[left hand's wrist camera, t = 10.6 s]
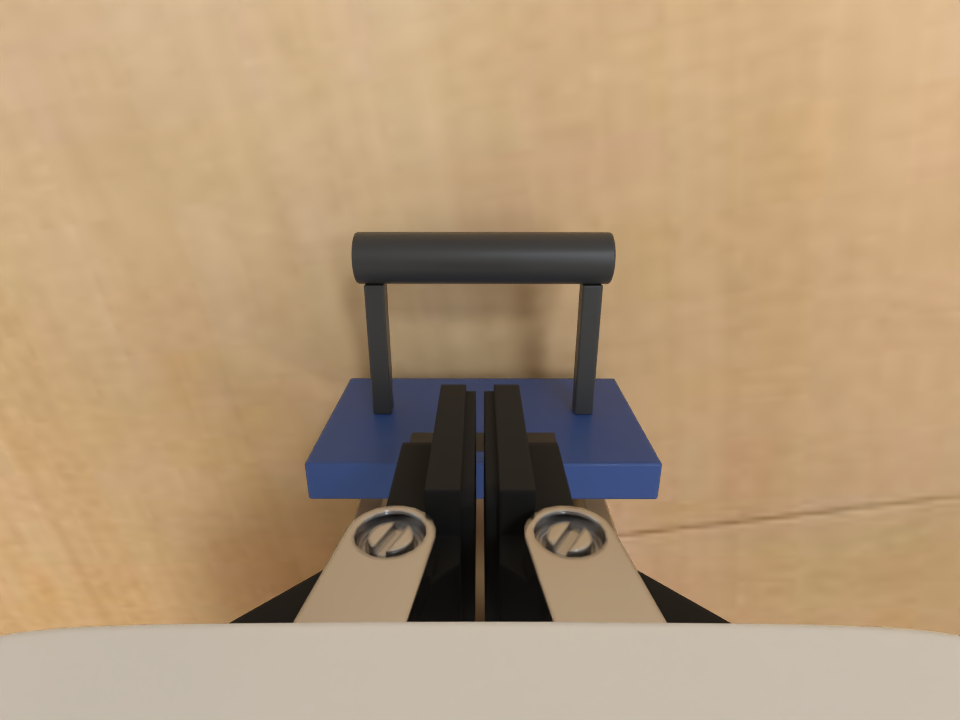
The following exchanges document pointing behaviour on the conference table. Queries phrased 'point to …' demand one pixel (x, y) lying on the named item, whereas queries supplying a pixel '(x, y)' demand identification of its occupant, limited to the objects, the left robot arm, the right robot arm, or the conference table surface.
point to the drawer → (546, 402)
